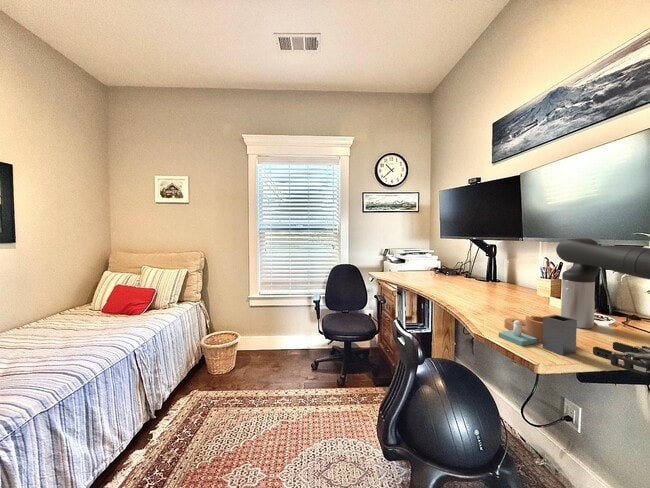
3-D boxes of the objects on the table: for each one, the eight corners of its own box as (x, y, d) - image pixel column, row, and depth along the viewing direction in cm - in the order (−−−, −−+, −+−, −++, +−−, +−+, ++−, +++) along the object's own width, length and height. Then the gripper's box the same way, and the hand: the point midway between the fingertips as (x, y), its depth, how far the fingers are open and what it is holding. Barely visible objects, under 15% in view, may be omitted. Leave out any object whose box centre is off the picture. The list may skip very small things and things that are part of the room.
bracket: (563, 344, 88) (564, 323, 88) (539, 345, 88) (540, 324, 87) (519, 324, 106) (519, 307, 106) (499, 325, 105) (499, 308, 105)
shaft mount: (513, 334, 96) (513, 315, 96) (537, 342, 89) (537, 323, 89) (498, 336, 94) (498, 318, 94) (521, 346, 87) (521, 325, 86)
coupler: (554, 345, 87) (555, 314, 86) (575, 352, 82) (576, 320, 81) (542, 348, 85) (543, 316, 85) (562, 355, 80) (564, 322, 79)
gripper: (685, 402, 55) (586, 366, 70) (719, 388, 59) (619, 357, 75) (686, 365, 55) (586, 337, 70) (720, 354, 59) (620, 330, 75)
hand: (603, 347), depth 72 cm, fingers open, 8 cm apart
